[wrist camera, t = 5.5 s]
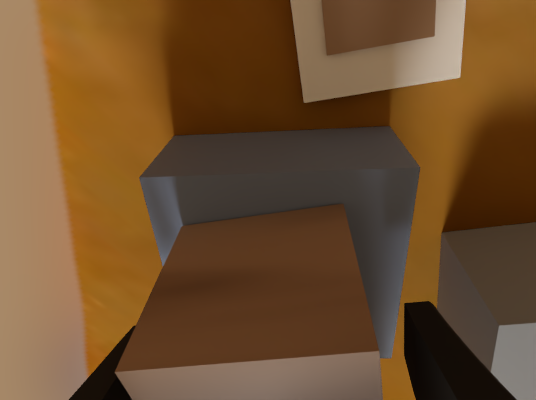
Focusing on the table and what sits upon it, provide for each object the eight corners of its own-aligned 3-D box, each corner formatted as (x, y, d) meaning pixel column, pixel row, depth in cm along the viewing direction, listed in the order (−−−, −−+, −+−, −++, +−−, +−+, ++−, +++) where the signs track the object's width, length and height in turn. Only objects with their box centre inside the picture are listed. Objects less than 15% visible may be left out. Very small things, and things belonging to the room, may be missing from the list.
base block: (371, 285, 17) (391, 358, 14) (207, 287, 18) (187, 357, 15) (387, 122, 13) (420, 167, 10) (176, 132, 14) (139, 177, 11)
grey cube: (547, 306, 17) (634, 413, 13) (436, 315, 18) (482, 419, 13) (570, 216, 15) (688, 311, 10) (440, 231, 15) (499, 325, 11)
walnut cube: (356, 321, 13) (389, 486, 9) (222, 333, 14) (191, 491, 9) (343, 203, 11) (379, 350, 6) (181, 225, 11) (114, 372, 7)
